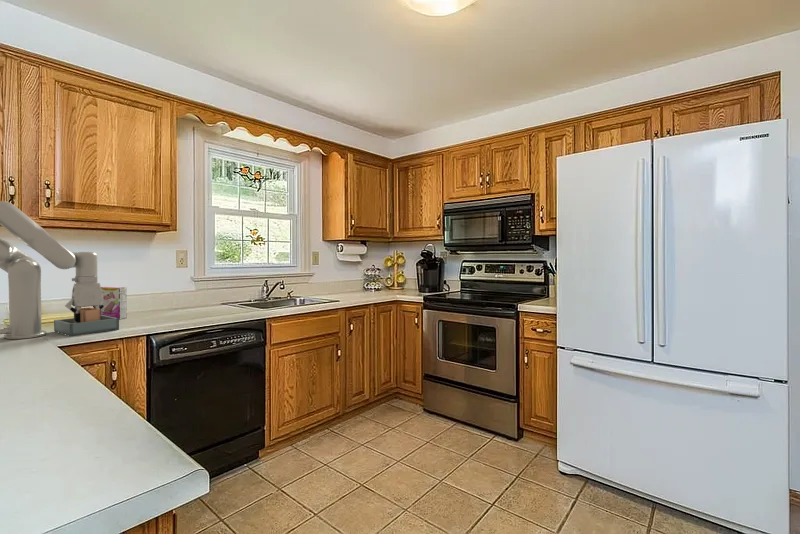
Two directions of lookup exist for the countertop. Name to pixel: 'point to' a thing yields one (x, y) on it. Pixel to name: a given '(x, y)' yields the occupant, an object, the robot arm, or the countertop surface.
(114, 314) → the candy bar box
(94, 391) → the countertop surface
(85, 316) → the box
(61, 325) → the dark grey tray
